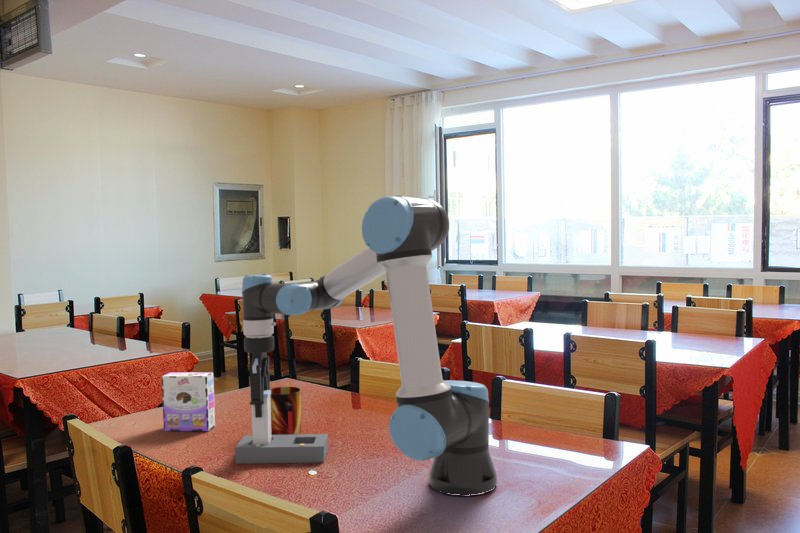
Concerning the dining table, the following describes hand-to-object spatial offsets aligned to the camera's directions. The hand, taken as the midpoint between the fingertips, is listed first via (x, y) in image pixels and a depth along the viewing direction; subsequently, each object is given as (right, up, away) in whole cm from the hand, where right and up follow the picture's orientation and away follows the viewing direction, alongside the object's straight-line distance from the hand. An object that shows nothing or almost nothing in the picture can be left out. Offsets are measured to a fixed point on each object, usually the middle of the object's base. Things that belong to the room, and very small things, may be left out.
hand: (261, 426), depth 163 cm
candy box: (-27, -7, +25) cm, 38 cm away
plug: (0, -5, 0) cm, 5 cm away
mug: (+3, -7, +20) cm, 22 cm away
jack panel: (+5, -8, +1) cm, 9 cm away
